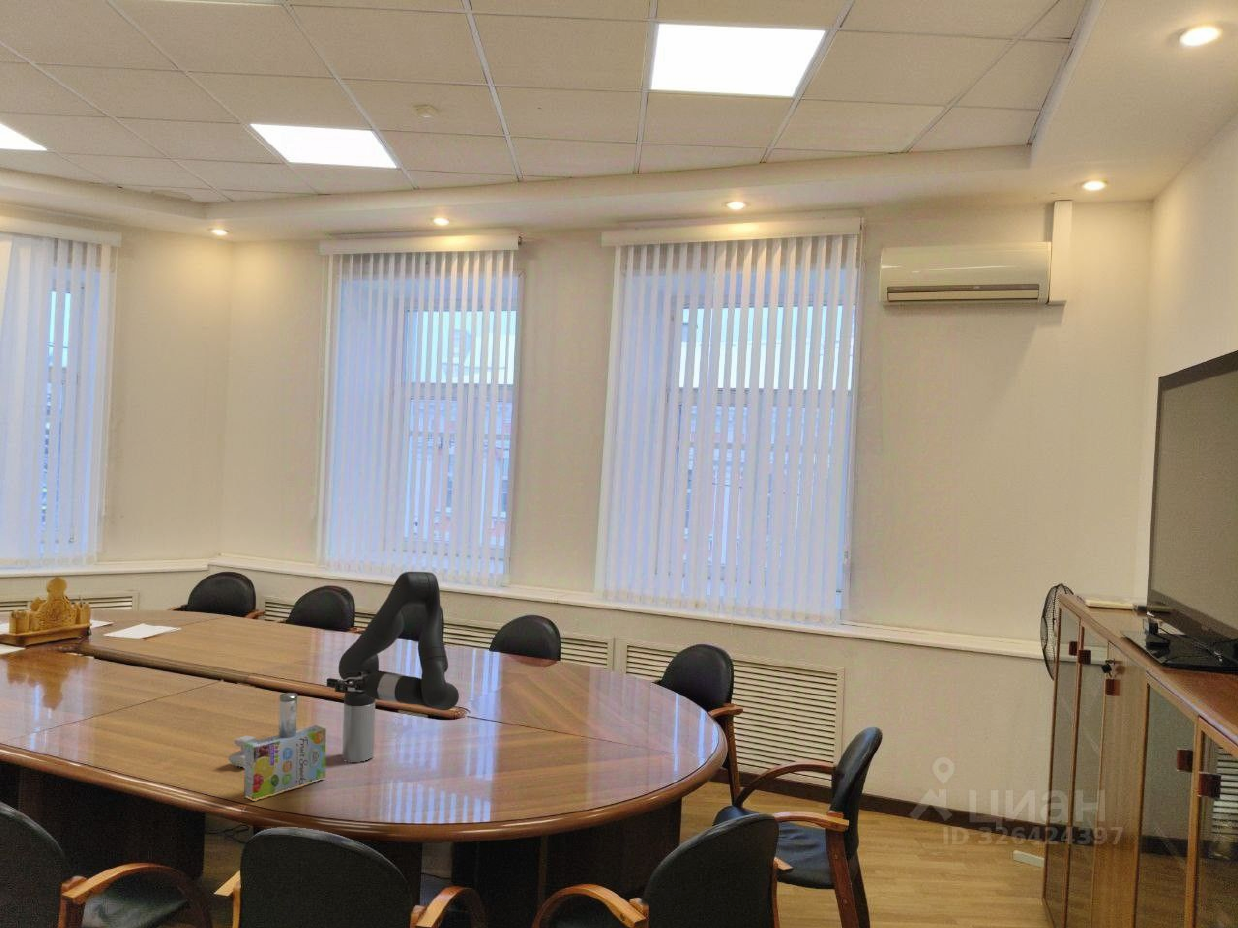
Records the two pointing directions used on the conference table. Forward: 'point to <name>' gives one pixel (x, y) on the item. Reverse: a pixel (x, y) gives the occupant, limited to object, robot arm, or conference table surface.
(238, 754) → the white blocky piece
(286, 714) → the metal tin
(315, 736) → the snack box
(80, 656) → the conference table surface
